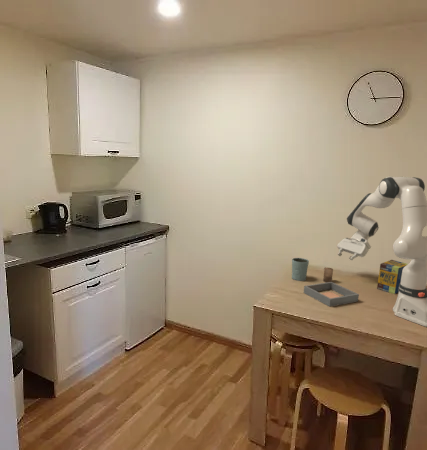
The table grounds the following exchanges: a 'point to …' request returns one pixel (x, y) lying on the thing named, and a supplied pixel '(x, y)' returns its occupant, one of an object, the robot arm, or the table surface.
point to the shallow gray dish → (331, 294)
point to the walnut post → (328, 275)
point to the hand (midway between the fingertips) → (344, 257)
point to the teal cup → (299, 269)
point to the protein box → (390, 276)
